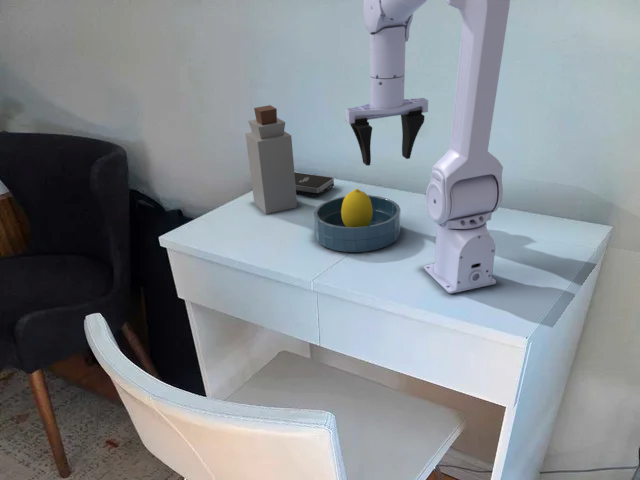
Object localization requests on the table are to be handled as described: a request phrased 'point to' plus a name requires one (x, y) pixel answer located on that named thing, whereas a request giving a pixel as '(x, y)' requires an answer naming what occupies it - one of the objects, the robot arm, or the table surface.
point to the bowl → (357, 238)
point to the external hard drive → (312, 184)
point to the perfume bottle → (271, 162)
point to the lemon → (356, 209)
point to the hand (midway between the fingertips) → (386, 160)
